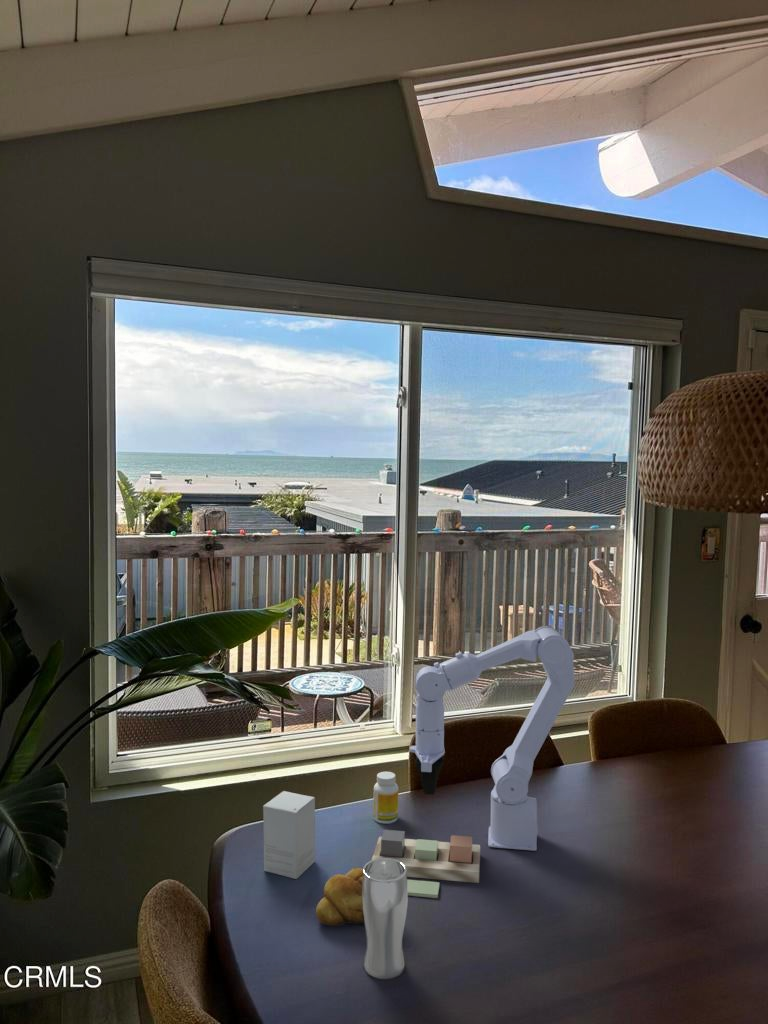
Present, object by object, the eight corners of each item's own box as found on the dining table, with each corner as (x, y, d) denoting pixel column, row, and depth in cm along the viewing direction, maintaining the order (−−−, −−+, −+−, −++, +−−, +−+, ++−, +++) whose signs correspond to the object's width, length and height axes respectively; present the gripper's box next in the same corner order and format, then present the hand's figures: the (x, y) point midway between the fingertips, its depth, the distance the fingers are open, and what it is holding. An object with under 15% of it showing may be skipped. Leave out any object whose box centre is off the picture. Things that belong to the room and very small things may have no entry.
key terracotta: (472, 852, 140) (472, 836, 139) (471, 863, 136) (471, 847, 135) (451, 850, 140) (451, 835, 140) (449, 861, 136) (449, 845, 136)
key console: (480, 854, 142) (480, 845, 142) (478, 883, 132) (479, 872, 132) (379, 846, 145) (379, 836, 145) (370, 873, 136) (370, 862, 135)
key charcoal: (404, 846, 142) (404, 831, 141) (401, 857, 138) (402, 841, 137) (384, 844, 142) (384, 829, 142) (381, 855, 138) (381, 839, 138)
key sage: (438, 855, 141) (438, 840, 140) (436, 866, 137) (436, 851, 136) (417, 854, 141) (417, 839, 141) (415, 865, 137) (415, 849, 137)
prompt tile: (439, 885, 132) (439, 882, 132) (437, 898, 128) (437, 894, 128) (406, 882, 132) (406, 879, 132) (403, 895, 129) (403, 891, 129)
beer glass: (360, 952, 113) (360, 857, 112) (404, 950, 114) (405, 856, 113) (362, 983, 106) (362, 882, 105) (410, 980, 107) (410, 880, 106)
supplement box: (316, 861, 140) (316, 796, 139) (296, 880, 133) (296, 812, 132) (283, 852, 143) (283, 789, 142) (262, 871, 136) (262, 804, 136)
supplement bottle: (368, 817, 158) (368, 774, 157) (387, 810, 161) (387, 768, 161) (384, 827, 154) (384, 782, 153) (403, 819, 157) (403, 775, 156)
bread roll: (322, 939, 116) (322, 890, 116) (307, 905, 125) (307, 860, 125) (397, 923, 121) (397, 875, 120) (377, 891, 130) (378, 847, 129)
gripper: (414, 714, 156) (413, 777, 156) (405, 738, 141) (405, 807, 142) (447, 716, 154) (446, 779, 155) (442, 740, 140) (441, 810, 141)
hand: (429, 793), depth 148 cm, fingers closed
